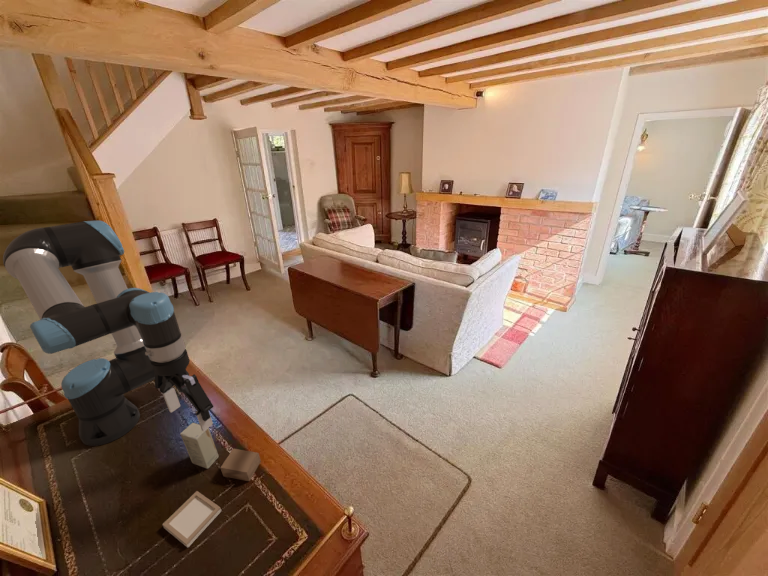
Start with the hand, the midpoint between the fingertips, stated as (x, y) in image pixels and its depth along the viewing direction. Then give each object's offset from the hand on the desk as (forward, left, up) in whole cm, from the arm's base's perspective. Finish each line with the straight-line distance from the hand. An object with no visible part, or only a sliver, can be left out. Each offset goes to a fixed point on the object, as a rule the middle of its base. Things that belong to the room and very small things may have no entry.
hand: (190, 417), depth 86 cm
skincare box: (0, 0, -17) cm, 17 cm away
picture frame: (+12, -12, -17) cm, 24 cm away
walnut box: (+12, +3, -18) cm, 21 cm away
